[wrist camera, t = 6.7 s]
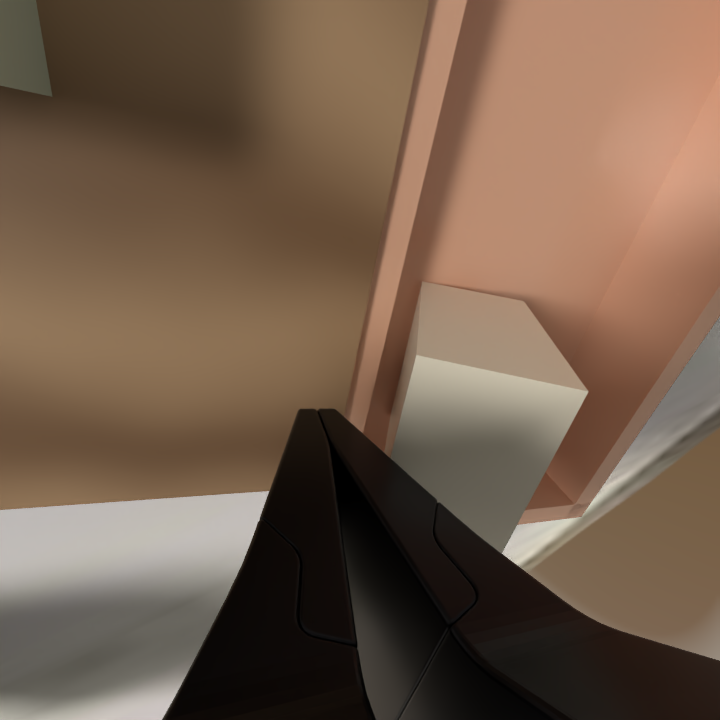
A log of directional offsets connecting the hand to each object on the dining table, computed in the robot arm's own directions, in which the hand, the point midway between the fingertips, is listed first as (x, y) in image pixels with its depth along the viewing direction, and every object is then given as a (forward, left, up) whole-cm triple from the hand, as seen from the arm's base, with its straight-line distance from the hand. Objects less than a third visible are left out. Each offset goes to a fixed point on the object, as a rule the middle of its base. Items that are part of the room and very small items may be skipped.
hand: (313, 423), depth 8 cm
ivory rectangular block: (0, -2, -1) cm, 3 cm away
